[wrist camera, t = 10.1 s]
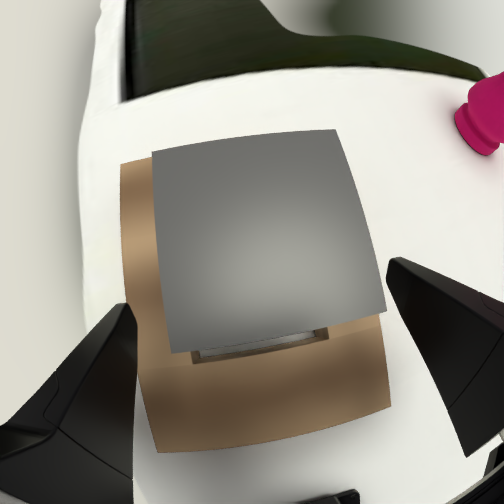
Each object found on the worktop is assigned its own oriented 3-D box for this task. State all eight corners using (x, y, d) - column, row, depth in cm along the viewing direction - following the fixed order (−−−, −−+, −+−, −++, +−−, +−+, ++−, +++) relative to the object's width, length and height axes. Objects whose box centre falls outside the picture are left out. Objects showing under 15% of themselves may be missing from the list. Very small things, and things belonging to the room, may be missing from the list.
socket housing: (371, 396, 17) (391, 406, 14) (168, 435, 16) (157, 452, 13) (318, 156, 21) (328, 134, 18) (134, 184, 20) (120, 164, 17)
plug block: (288, 319, 18) (387, 311, 6) (218, 331, 18) (171, 354, 5) (275, 251, 19) (335, 129, 7) (207, 262, 19) (152, 152, 6)
